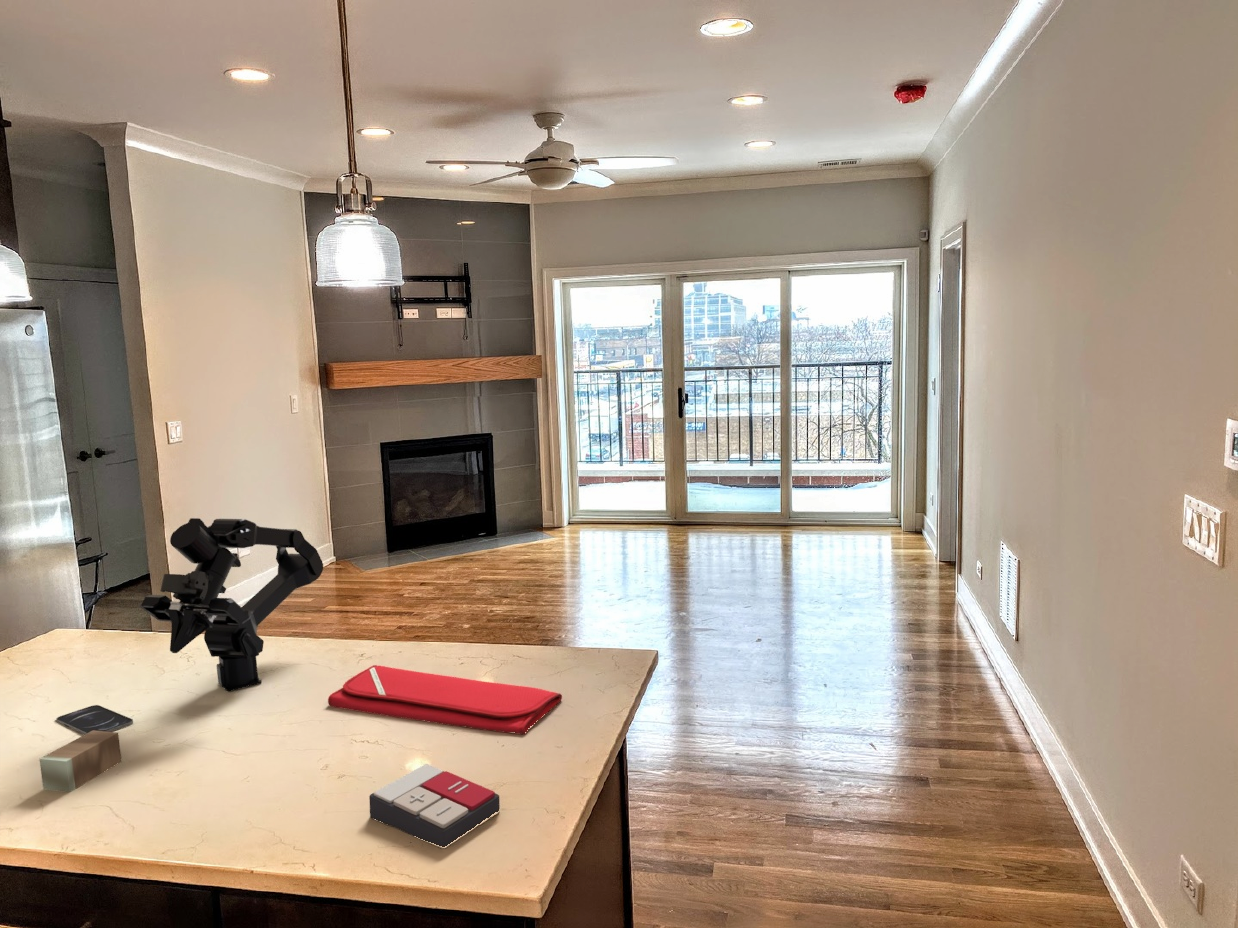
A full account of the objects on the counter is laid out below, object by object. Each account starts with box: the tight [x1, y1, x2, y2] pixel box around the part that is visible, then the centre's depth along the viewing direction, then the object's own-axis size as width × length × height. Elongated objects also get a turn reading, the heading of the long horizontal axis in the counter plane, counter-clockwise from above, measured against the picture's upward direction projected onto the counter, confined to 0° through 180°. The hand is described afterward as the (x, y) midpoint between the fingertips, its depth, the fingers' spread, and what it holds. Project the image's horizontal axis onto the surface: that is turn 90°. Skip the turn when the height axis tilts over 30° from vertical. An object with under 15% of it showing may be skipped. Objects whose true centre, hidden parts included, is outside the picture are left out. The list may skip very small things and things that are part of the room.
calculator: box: [368, 763, 501, 847], centre depth 122 cm, size 11×4×15 cm
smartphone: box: [55, 704, 134, 736], centre depth 158 cm, size 8×1×15 cm
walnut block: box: [38, 730, 123, 793], centre depth 137 cm, size 5×5×10 cm
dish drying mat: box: [327, 664, 563, 735], centre depth 160 cm, size 16×41×4 cm, turn 69°
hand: (173, 652), depth 156 cm, fingers closed
